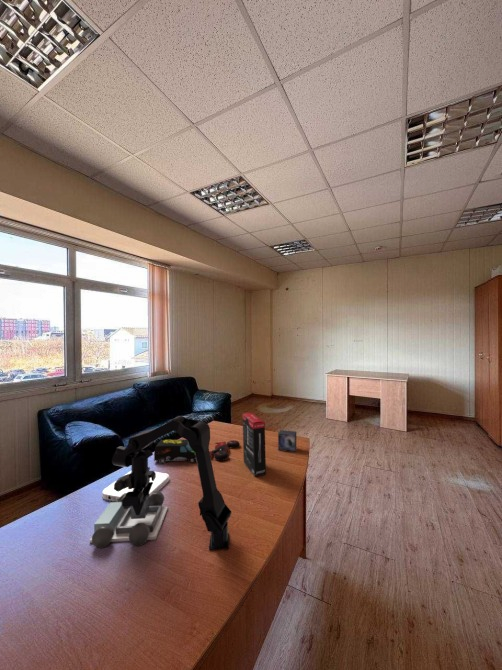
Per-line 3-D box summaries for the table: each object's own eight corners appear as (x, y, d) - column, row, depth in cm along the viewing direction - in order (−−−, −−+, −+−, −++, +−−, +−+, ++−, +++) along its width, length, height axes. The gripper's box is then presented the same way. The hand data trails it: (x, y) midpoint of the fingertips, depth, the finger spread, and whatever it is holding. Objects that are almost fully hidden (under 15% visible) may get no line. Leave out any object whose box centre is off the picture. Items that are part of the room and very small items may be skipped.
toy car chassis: (153, 545, 89) (153, 527, 89) (85, 548, 88) (85, 530, 88) (169, 505, 110) (169, 490, 110) (114, 507, 109) (114, 493, 109)
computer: (171, 479, 131) (171, 473, 131) (141, 507, 110) (141, 500, 110) (133, 473, 137) (133, 468, 137) (98, 499, 116) (98, 492, 116)
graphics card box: (266, 475, 133) (266, 420, 133) (254, 478, 130) (253, 422, 130) (253, 460, 149) (253, 411, 149) (242, 462, 146) (241, 413, 146)
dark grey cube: (144, 518, 97) (144, 501, 97) (130, 519, 96) (130, 502, 96) (149, 509, 102) (149, 493, 102) (136, 510, 101) (135, 494, 101)
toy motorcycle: (240, 447, 170) (218, 440, 176) (241, 439, 170) (219, 433, 175) (224, 466, 147) (199, 458, 152) (225, 457, 146) (200, 449, 152)
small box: (277, 450, 161) (277, 433, 161) (279, 446, 167) (279, 429, 167) (295, 452, 158) (295, 435, 158) (296, 448, 164) (296, 431, 164)
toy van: (198, 463, 147) (197, 445, 147) (153, 464, 146) (152, 445, 147) (201, 454, 157) (201, 437, 157) (159, 455, 157) (159, 438, 157)
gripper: (127, 457, 108) (128, 496, 108) (105, 482, 89) (105, 529, 89) (155, 456, 109) (156, 494, 109) (139, 481, 90) (139, 527, 90)
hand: (140, 510), depth 99 cm, fingers closed on dark grey cube, 5 cm apart
